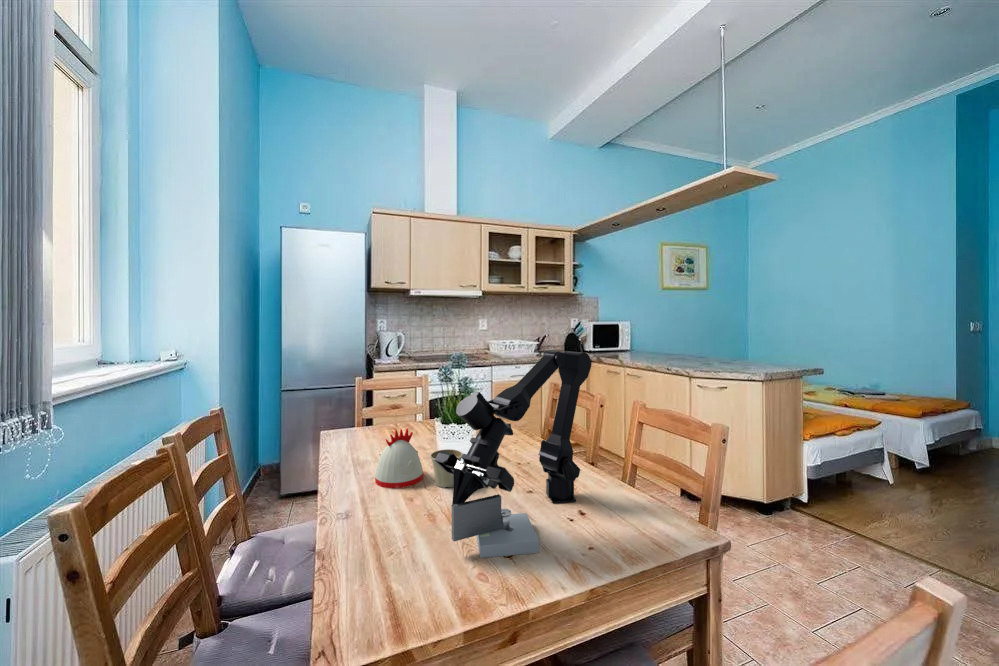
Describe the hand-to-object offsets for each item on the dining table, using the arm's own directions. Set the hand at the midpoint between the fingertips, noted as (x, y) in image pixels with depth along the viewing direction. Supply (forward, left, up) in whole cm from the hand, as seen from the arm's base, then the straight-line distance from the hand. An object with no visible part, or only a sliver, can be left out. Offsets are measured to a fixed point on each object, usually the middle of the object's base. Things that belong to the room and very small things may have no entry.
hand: (454, 508), depth 83 cm
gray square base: (-11, -2, -9) cm, 14 cm away
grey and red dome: (+15, -40, -9) cm, 44 cm away
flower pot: (+1, -34, -9) cm, 36 cm away
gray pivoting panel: (-6, -1, -6) cm, 8 cm away
